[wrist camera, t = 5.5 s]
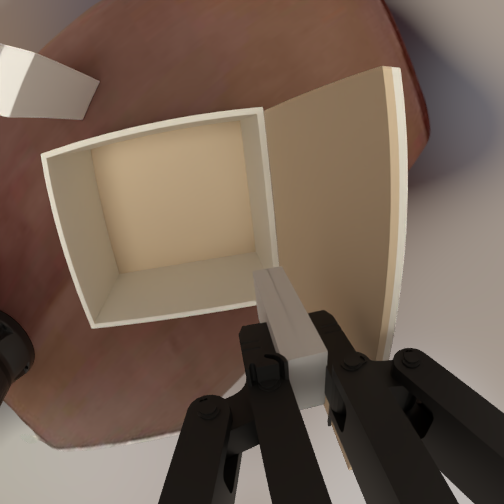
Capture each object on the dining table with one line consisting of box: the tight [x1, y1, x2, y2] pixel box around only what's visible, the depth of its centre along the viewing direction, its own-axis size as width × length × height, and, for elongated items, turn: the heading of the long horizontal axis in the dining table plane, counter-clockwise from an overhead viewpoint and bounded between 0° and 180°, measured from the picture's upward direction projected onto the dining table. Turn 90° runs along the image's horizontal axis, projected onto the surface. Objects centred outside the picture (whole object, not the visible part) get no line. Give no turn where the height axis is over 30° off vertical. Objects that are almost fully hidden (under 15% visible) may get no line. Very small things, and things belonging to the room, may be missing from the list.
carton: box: [41, 107, 279, 329], centre depth 35 cm, size 22×20×14 cm
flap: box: [264, 66, 408, 470], centre depth 20 cm, size 21×19×1 cm
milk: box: [0, 43, 100, 120], centre depth 23 cm, size 6×6×22 cm
